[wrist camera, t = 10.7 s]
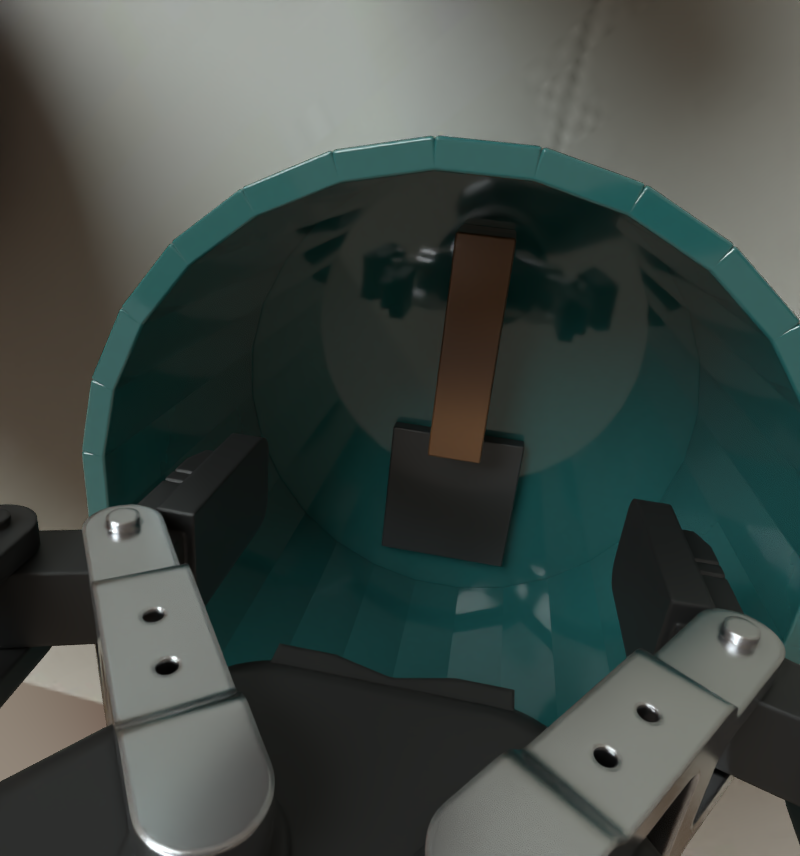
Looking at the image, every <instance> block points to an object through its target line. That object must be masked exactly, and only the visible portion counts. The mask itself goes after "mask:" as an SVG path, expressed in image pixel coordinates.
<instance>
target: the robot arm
mask: <svg viewBox="0 0 800 856" xmlns="http://www.w3.org/2000/svg"><path fill="white" fill-rule="evenodd" d="M268 453H269V448H268V442H267V439H266V438H263V437H257V436H250V435H244V434H238V433H232V434H231V435H230V436H229V437H228V438H227V439H226V440H225V441H224V442H223V443H221V444H220V445H219V446H218V447H217V448H216V449H215V450H214V451H212V450H205V451H203V452H200V453H198V454H196V455H193V456H191V457H189V458H187V459H186V460H185V461H184V462H183V463H181V464H180V465H179V466H178V467H177V468H176V469H175V472H174V471H173V472H172V473H171V474H170V475H168V476H167V477H166V479H165V481H162V482H161V483H160V484H159V485H158V486H157V487H155V488H154V489H153V490H152V491H151V492H150V493H149V494H148V495H147V496H146V497H145V498H144V499H142V500H141V501H140V502H139V503H138V504H137V505H134V504H129V505H118V506H113V507H109V508H105V509H103V510H100V511H98V512H96V513H94V514H93V515H91V516H90V517H89V518H88V519H86V521H85V522H84V523H83V526H82V530H50V531H39V528H38V521H37V515H36V513H35V512H34V511H33V510H31V509H29V508H27V507H24V506H19V505H0V708H1V707H2V705H3V704H4V703H5V702H6V701H7V700H8V698H9V697H10V696H11V695H12V694H13V692H14V691H15V690H16V689H17V687H19V685H20V684H21V683H22V682H23V681H24V679H25V678H26V677H27V676H28V675H29V674H30V672H31V671H32V670H33V669H34V668H35V666H36V665H37V664H38V663H39V662H40V661H41V659H42V658H43V657H44V656H45V655H46V653H47V652H48V651H49V650H50V648H51V647H52V646H61V645H81V644H95V650H96V657H97V664H98V671H99V677H100V684H101V691H102V698H103V705H104V711H105V718H106V725H107V727H105V728H103V729H101V730H99V731H97V732H95V733H93V734H91V735H89V736H87V737H85V738H84V739H82V740H80V741H78V742H76V743H74V744H72V745H70V746H68V747H66V748H64V749H62V750H60V751H58V752H57V753H55V754H53V755H51V756H49V757H47V758H45V759H43V760H41V761H39V762H37V763H35V764H33V765H32V766H29V767H28V768H26V769H24V770H22V771H20V772H18V773H16V774H14V775H12V776H10V777H8V778H6V779H4V780H2V781H1V782H0V856H681V854H682V852H683V851H684V849H685V847H686V846H687V844H688V843H689V841H690V840H691V838H692V837H693V836H694V834H695V833H696V831H697V830H698V828H699V827H700V826H701V824H702V823H703V821H704V820H705V818H706V817H707V816H708V814H709V813H710V811H711V810H712V808H713V807H714V806H715V804H716V803H717V801H718V800H719V798H720V797H721V796H722V794H723V793H724V791H725V790H726V788H727V787H728V786H729V784H730V783H731V781H732V779H733V777H736V778H738V779H740V780H743V781H745V782H747V783H749V784H751V785H753V786H756V787H758V788H760V789H762V790H764V791H766V792H769V793H771V794H773V795H775V796H777V797H780V798H782V799H784V800H785V802H786V806H787V809H788V812H789V815H790V818H791V821H792V824H793V827H794V830H795V833H796V835H797V838H798V841H799V844H800V665H799V664H796V663H794V662H792V661H790V660H788V659H786V658H785V653H786V652H785V647H784V645H783V643H782V641H781V640H780V639H779V637H778V636H777V635H776V634H775V633H774V632H773V631H772V630H770V629H769V628H768V627H767V626H765V625H764V624H762V623H761V622H759V621H757V620H756V619H754V618H751V617H749V616H747V615H745V614H744V613H743V611H742V609H741V607H740V605H739V603H738V601H737V599H736V597H735V595H734V592H733V590H732V588H731V586H730V584H729V582H728V580H727V579H725V574H724V572H723V570H722V568H721V566H719V562H718V560H717V558H716V556H715V554H714V552H713V549H712V547H711V546H710V545H709V544H707V543H706V542H705V541H704V540H703V539H702V538H701V537H700V536H699V535H697V534H696V533H695V532H694V531H688V530H682V528H681V526H680V524H679V521H678V519H677V517H676V514H675V512H674V510H673V508H672V506H671V505H670V504H665V503H659V502H652V501H646V500H640V499H633V500H632V501H631V503H630V505H629V508H628V512H627V515H626V519H625V523H624V526H623V530H622V534H621V537H620V541H619V545H618V548H617V552H616V556H615V559H614V564H613V570H612V592H613V596H614V601H615V606H616V610H617V615H618V620H619V624H620V629H621V634H622V638H623V643H624V648H625V652H626V657H627V658H626V659H625V660H624V661H623V662H621V663H620V664H619V665H618V666H617V667H616V668H615V669H613V670H612V671H611V672H610V673H609V674H608V675H607V676H606V677H604V678H603V679H602V680H601V681H600V682H599V683H598V684H596V685H595V686H594V687H593V688H592V689H591V690H590V691H588V692H587V693H586V694H585V695H584V696H583V697H582V698H581V699H579V700H578V701H577V702H576V703H575V704H574V705H573V706H571V707H570V708H569V709H568V710H567V711H566V712H565V713H564V714H562V715H561V716H560V717H559V718H558V719H557V720H556V721H554V722H553V723H552V724H551V725H550V726H549V727H547V726H545V725H544V724H542V723H541V722H539V721H538V720H536V719H534V718H532V717H530V716H528V715H527V714H525V713H523V712H520V711H518V710H516V709H514V702H515V690H513V689H508V688H503V687H498V686H493V685H488V684H483V683H478V682H473V681H468V680H463V679H457V678H394V677H389V676H386V675H384V674H381V673H379V672H377V671H374V670H372V669H369V668H367V667H365V666H362V665H360V664H357V663H355V662H353V661H350V660H348V659H346V658H343V657H341V656H338V655H336V654H331V653H326V652H321V651H316V650H311V649H306V648H301V647H296V646H291V645H286V644H281V643H280V644H279V646H278V648H277V650H276V652H275V654H274V656H273V658H272V660H262V661H252V662H246V663H241V664H236V665H232V666H229V667H227V664H226V661H225V659H224V656H223V653H222V651H221V648H220V645H219V643H218V640H217V637H216V635H215V632H214V629H213V627H212V624H211V621H210V619H209V616H208V613H207V611H206V608H205V606H206V604H207V603H208V602H209V600H210V599H211V597H212V596H213V594H214V593H215V591H216V590H217V588H218V587H219V586H220V584H221V583H222V581H223V580H224V578H225V577H226V575H227V574H228V573H229V571H230V570H231V568H232V567H233V565H234V564H235V562H236V561H237V560H238V558H239V557H240V555H241V554H242V552H243V551H244V549H245V548H246V546H247V545H248V544H249V542H250V541H251V539H252V538H253V536H254V535H255V533H256V532H257V531H258V529H259V528H260V526H261V524H262V522H263V519H264V516H265V513H266V508H267V500H268Z"/></svg>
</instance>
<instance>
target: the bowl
mask: <svg viewBox="0 0 800 856" xmlns="http://www.w3.org/2000/svg"><path fill="white" fill-rule="evenodd" d="M463 224H468V225H477V226H485V227H494V228H502V229H510V230H515V231H516V247H515V253H514V259H513V265H512V271H511V277H510V284H509V290H508V296H507V302H506V308H505V314H504V320H503V327H502V333H501V339H500V345H499V351H498V357H497V363H496V370H495V376H494V382H493V388H492V394H491V400H490V407H489V413H488V419H487V425H486V431H485V435H486V436H493V437H499V438H506V439H512V440H519V441H523V442H524V453H523V458H522V463H521V469H520V474H519V479H518V484H517V490H516V495H515V500H514V505H513V511H512V516H511V521H510V526H509V532H508V537H507V542H506V547H505V553H504V558H503V563H502V566H494V565H488V564H483V563H477V562H471V561H466V560H460V559H454V558H449V557H443V556H437V555H431V554H426V553H420V552H414V551H409V550H403V549H397V548H392V547H386V546H382V535H383V525H384V515H385V505H386V495H387V486H388V476H389V466H390V456H391V446H392V436H393V428H394V425H395V423H396V422H402V423H408V424H415V425H421V426H428V427H431V424H432V416H433V408H434V400H435V392H436V385H437V377H438V369H439V361H440V353H441V345H442V337H443V329H444V321H445V313H446V305H447V298H448V290H449V282H450V274H451V266H452V258H453V250H454V242H455V234H456V232H457V231H458V230H459V228H460V227H461V226H462V225H463ZM92 379H93V380H92V381H91V386H90V393H89V401H88V408H87V415H86V423H85V430H84V438H83V445H82V450H83V452H82V459H83V469H84V478H85V488H86V497H87V506H88V516H89V517H90V516H91V515H93V514H94V513H96V512H98V511H100V510H103V509H105V508H109V507H113V506H118V505H129V504H134V505H137V504H138V503H139V502H140V501H141V500H142V499H144V498H145V497H146V496H147V495H148V494H149V493H150V492H151V491H152V490H153V489H154V488H155V487H157V486H158V485H159V484H160V483H161V482H162V481H165V479H166V477H167V476H168V475H170V474H171V473H172V472H173V471H174V472H175V469H176V468H177V467H178V466H179V465H180V464H181V463H183V462H184V461H185V460H186V459H187V458H189V457H191V456H193V455H196V454H198V453H200V452H203V451H205V450H212V451H214V450H215V449H216V448H217V447H218V446H219V445H220V444H221V443H223V442H224V441H225V440H226V439H227V438H228V437H229V436H230V435H231V434H232V433H238V434H244V435H250V436H257V437H263V438H266V439H267V442H268V448H269V453H268V500H267V508H266V513H265V516H264V519H263V522H262V524H261V526H260V528H259V529H258V531H257V532H256V533H255V535H254V536H253V538H252V539H251V541H250V542H249V544H248V545H247V546H246V548H245V549H244V551H243V552H242V554H241V555H240V557H239V558H238V560H237V561H236V562H235V564H234V565H233V567H232V568H231V570H230V571H229V573H228V574H227V575H226V577H225V578H224V580H223V581H222V583H221V584H220V586H219V587H218V588H217V590H216V591H215V593H214V594H213V596H212V597H211V599H210V600H209V602H208V603H207V604H206V606H205V608H206V611H207V613H208V616H209V619H210V621H211V624H212V627H213V629H214V632H215V635H216V637H217V640H218V643H219V645H220V648H221V651H222V653H223V656H224V659H225V661H226V664H227V667H229V666H232V665H236V664H241V663H246V662H252V661H262V660H272V658H273V656H274V654H275V652H276V650H277V648H278V646H279V644H280V643H281V644H286V645H291V646H296V647H301V648H306V649H311V650H316V651H321V652H326V653H331V654H336V655H338V656H341V657H343V658H346V659H348V660H350V661H353V662H355V663H357V664H360V665H362V666H365V667H367V668H369V669H372V670H374V671H377V672H379V673H381V674H384V675H386V676H389V677H394V678H457V679H463V680H468V681H473V682H478V683H483V684H488V685H493V686H498V687H503V688H508V689H513V690H515V702H514V709H516V710H518V711H520V712H523V713H525V714H527V715H528V716H530V717H532V718H534V719H536V720H538V721H539V722H541V723H542V724H544V725H545V726H547V727H549V726H550V725H551V724H552V723H553V722H554V721H556V720H557V719H558V718H559V717H560V716H561V715H562V714H564V713H565V712H566V711H567V710H568V709H569V708H570V707H571V706H573V705H574V704H575V703H576V702H577V701H578V700H579V699H581V698H582V697H583V696H584V695H585V694H586V693H587V692H588V691H590V690H591V689H592V688H593V687H594V686H595V685H596V684H598V683H599V682H600V681H601V680H602V679H603V678H604V677H606V676H607V675H608V674H609V673H610V672H611V671H612V670H613V669H615V668H616V667H617V666H618V665H619V664H620V663H621V662H623V661H624V660H625V659H626V658H627V657H626V652H625V648H624V643H623V638H622V634H621V629H620V624H619V620H618V615H617V610H616V606H615V601H614V596H613V592H612V570H613V564H614V559H615V556H616V552H617V548H618V545H619V541H620V537H621V534H622V530H623V526H624V523H625V519H626V515H627V512H628V508H629V505H630V503H631V501H632V500H633V499H640V500H646V501H652V502H659V503H665V504H670V505H671V506H672V508H673V510H674V512H675V514H676V517H677V519H678V521H679V524H680V526H681V528H682V530H688V531H694V532H695V533H696V534H697V535H699V536H700V537H701V538H702V539H703V540H704V541H705V542H706V543H707V544H709V545H710V546H711V547H712V549H713V552H714V554H715V556H716V558H717V560H718V562H719V566H721V568H722V570H723V572H724V574H725V579H727V580H728V582H729V584H730V586H731V588H732V590H733V592H734V595H735V597H736V599H737V601H738V603H739V605H740V607H741V609H742V611H743V613H744V614H745V615H747V616H749V617H751V618H754V619H756V620H757V621H759V622H761V623H762V624H764V625H765V626H767V627H768V628H769V629H770V630H772V631H773V632H774V633H775V634H776V635H777V636H778V637H779V639H780V640H781V641H782V643H783V645H784V647H785V652H786V653H785V658H786V659H788V660H790V661H792V662H794V663H796V664H799V665H800V322H799V319H798V318H797V317H796V315H795V314H794V313H793V312H792V311H791V309H790V308H789V307H788V306H787V305H786V304H785V302H784V301H783V300H782V299H781V298H780V297H779V295H778V294H777V293H776V292H775V291H774V290H773V288H772V287H771V286H770V285H769V284H768V283H767V281H766V280H765V279H764V278H763V277H762V276H761V274H760V273H759V272H758V271H757V270H756V269H755V267H754V266H753V265H752V264H751V263H750V262H749V260H748V259H747V258H746V257H745V256H744V255H743V253H742V252H741V251H740V250H739V249H738V248H737V247H735V246H733V243H732V242H731V241H729V240H728V239H726V238H725V237H723V236H722V235H720V234H719V233H717V232H716V231H714V230H713V229H712V228H710V227H709V226H707V225H706V224H704V223H703V222H701V221H700V220H698V219H697V218H695V217H694V216H693V215H691V214H690V213H688V212H687V211H685V210H684V209H682V208H681V207H679V206H678V205H677V204H675V203H674V202H672V201H671V200H669V199H668V198H666V197H665V196H663V195H662V194H660V193H659V192H658V191H656V190H655V189H653V188H652V187H650V186H647V185H644V184H643V183H642V182H640V181H637V180H634V179H632V178H629V177H626V176H623V175H621V174H618V173H615V172H612V171H610V170H607V169H604V168H601V167H599V166H596V165H593V164H590V163H588V162H585V161H582V160H579V159H577V158H574V157H571V156H568V155H566V154H563V153H560V152H557V151H555V150H552V149H549V148H542V147H540V146H536V145H526V144H516V143H507V142H497V141H487V140H477V139H468V138H458V137H448V136H436V137H435V136H425V137H418V138H411V139H404V140H397V141H390V142H384V143H377V144H370V145H363V146H356V147H349V148H342V149H335V150H334V151H328V152H326V153H323V154H321V155H318V156H316V157H314V158H311V159H309V160H306V161H304V162H302V163H299V164H297V165H294V166H292V167H290V168H287V169H285V170H282V171H280V172H278V173H275V174H273V175H270V176H268V177H266V178H263V179H261V180H258V181H256V182H254V183H251V184H249V185H246V186H244V187H243V189H239V190H238V191H237V192H235V193H234V194H233V195H231V196H230V197H229V198H228V199H226V200H225V201H224V202H222V203H221V204H220V205H218V206H217V207H216V208H214V209H213V210H212V211H211V212H209V213H208V214H207V215H205V216H204V217H203V218H201V219H200V220H199V221H197V222H196V223H195V224H194V225H192V226H191V227H190V228H188V229H187V230H186V231H184V232H183V233H182V234H181V235H179V236H178V237H177V238H175V239H174V240H173V242H172V243H171V244H169V245H168V246H167V248H166V249H165V250H164V252H163V253H162V254H161V256H160V257H159V258H158V260H157V261H156V262H155V263H154V265H153V266H152V267H151V269H150V270H149V271H148V273H147V274H146V275H145V277H144V278H143V279H142V280H141V282H140V283H139V284H138V286H137V287H136V288H135V290H134V291H133V292H132V294H131V295H130V296H129V297H128V299H127V300H126V301H125V303H124V304H123V306H122V309H120V311H119V313H118V315H117V318H116V320H115V323H114V325H113V328H112V330H111V332H110V335H109V337H108V340H107V342H106V345H105V347H104V350H103V352H102V354H101V357H100V359H99V362H98V364H97V367H96V369H95V371H94V374H93V376H92Z"/></svg>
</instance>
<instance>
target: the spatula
mask: <svg viewBox="0 0 800 856" xmlns="http://www.w3.org/2000/svg"><path fill="white" fill-rule="evenodd" d="M515 247H516V231H515V230H510V229H502V228H494V227H485V226H477V225H468V224H463V225H462V226H461V227H460V228H459V230H458V231H457V232H456V234H455V242H454V250H453V258H452V266H451V274H450V282H449V290H448V298H447V305H446V313H445V321H444V329H443V337H442V345H441V353H440V361H439V369H438V377H437V385H436V392H435V400H434V408H433V416H432V424H431V427H428V426H421V425H415V424H408V423H402V422H396V423H395V425H394V428H393V436H392V446H391V456H390V466H389V476H388V486H387V495H386V505H385V515H384V525H383V535H382V546H386V547H392V548H397V549H403V550H409V551H414V552H420V553H426V554H431V555H437V556H443V557H449V558H454V559H460V560H466V561H471V562H477V563H483V564H488V565H494V566H502V563H503V558H504V553H505V547H506V542H507V537H508V532H509V526H510V521H511V516H512V511H513V505H514V500H515V495H516V490H517V484H518V479H519V474H520V469H521V463H522V458H523V453H524V442H523V441H519V440H512V439H506V438H499V437H493V436H486V435H485V431H486V425H487V419H488V413H489V407H490V400H491V394H492V388H493V382H494V376H495V370H496V363H497V357H498V351H499V345H500V339H501V333H502V327H503V320H504V314H505V308H506V302H507V296H508V290H509V284H510V277H511V271H512V265H513V259H514V253H515Z"/></svg>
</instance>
